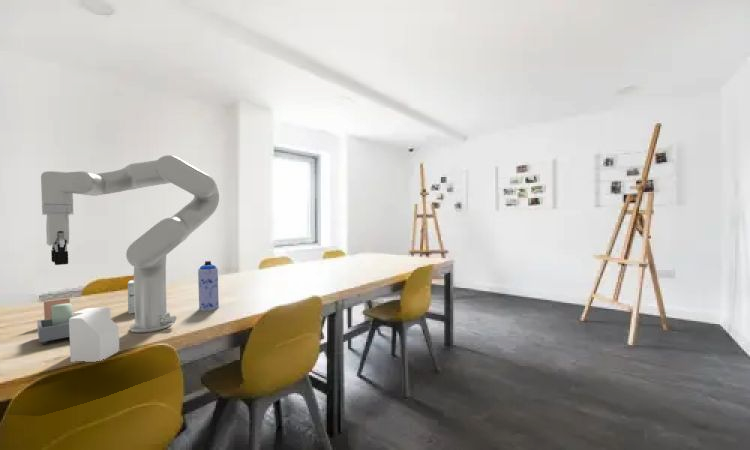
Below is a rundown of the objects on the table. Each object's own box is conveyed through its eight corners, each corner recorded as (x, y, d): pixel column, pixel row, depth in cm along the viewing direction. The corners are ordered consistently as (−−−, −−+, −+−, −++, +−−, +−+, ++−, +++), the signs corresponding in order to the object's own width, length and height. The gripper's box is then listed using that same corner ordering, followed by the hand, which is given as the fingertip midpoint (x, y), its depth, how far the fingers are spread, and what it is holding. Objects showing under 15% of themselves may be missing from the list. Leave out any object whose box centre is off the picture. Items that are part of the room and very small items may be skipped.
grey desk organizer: (88, 336, 116) (87, 309, 115) (39, 346, 107) (38, 317, 107) (78, 319, 134) (77, 296, 134) (35, 326, 126) (34, 302, 126)
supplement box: (127, 314, 142) (126, 283, 141) (130, 309, 148) (129, 279, 148) (149, 311, 145) (148, 281, 145) (151, 307, 152) (150, 278, 151)
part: (53, 333, 112) (51, 308, 112) (52, 329, 116) (51, 305, 115) (73, 329, 115) (72, 304, 115) (73, 325, 119) (71, 302, 119)
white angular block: (89, 347, 107) (87, 307, 107) (127, 346, 107) (125, 307, 107) (58, 362, 96) (56, 318, 96) (100, 361, 97) (98, 318, 96)
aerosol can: (219, 305, 155) (218, 259, 154) (219, 309, 148) (218, 261, 147) (199, 307, 152) (197, 260, 151) (198, 311, 145) (196, 263, 144)
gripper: (40, 210, 118) (42, 261, 118) (44, 209, 106) (46, 267, 106) (69, 210, 123) (71, 259, 124) (76, 210, 111) (78, 264, 112)
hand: (59, 262), depth 115 cm, fingers open, 9 cm apart
